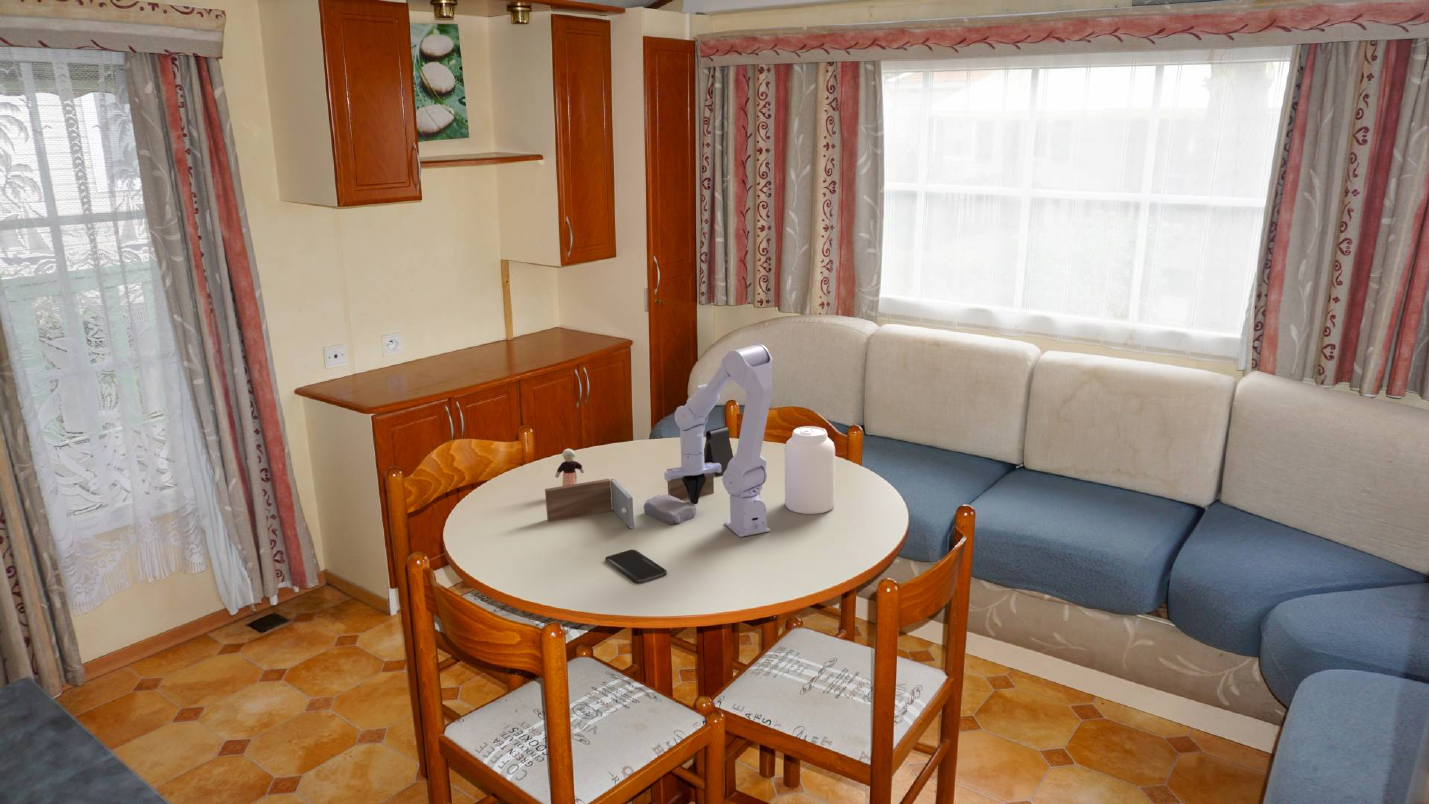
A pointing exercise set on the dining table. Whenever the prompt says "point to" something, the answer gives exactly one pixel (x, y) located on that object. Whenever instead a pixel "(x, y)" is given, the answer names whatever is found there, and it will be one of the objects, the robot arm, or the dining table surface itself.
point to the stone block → (669, 509)
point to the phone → (636, 566)
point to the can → (809, 471)
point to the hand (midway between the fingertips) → (694, 502)
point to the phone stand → (718, 448)
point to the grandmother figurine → (569, 468)
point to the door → (622, 503)
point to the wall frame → (601, 497)
